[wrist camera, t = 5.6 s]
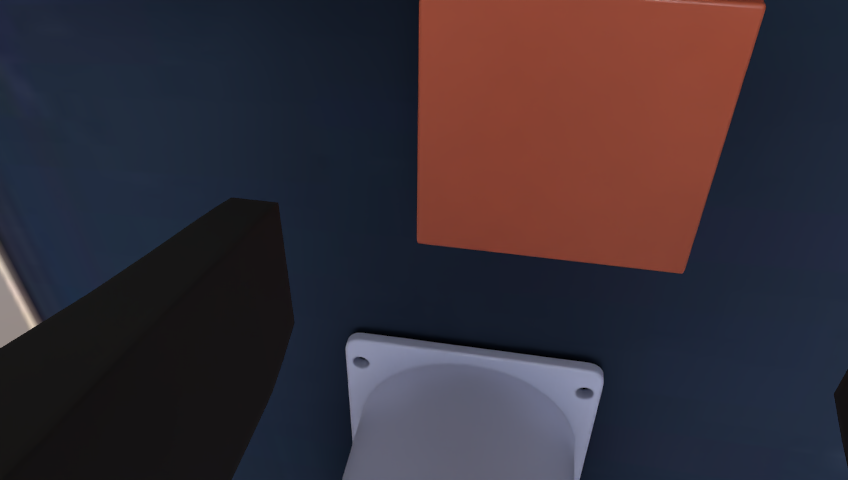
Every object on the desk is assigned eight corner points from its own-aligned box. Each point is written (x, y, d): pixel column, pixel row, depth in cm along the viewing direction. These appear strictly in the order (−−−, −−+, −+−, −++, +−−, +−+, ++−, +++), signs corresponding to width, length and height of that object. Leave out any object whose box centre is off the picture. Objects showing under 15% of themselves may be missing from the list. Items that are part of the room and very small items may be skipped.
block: (659, 141, 17) (684, 275, 13) (451, 122, 18) (416, 244, 14) (714, -83, 14) (769, 4, 10) (460, -97, 15) (418, -20, 11)
